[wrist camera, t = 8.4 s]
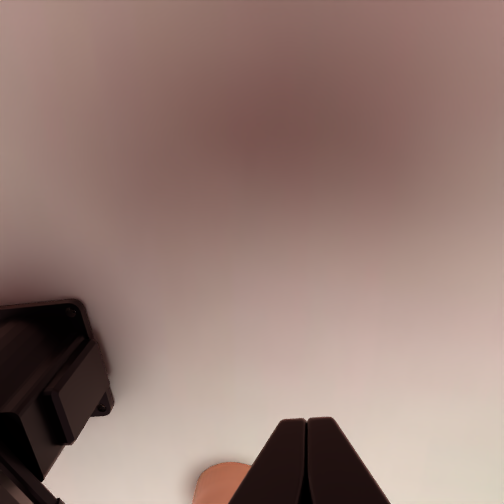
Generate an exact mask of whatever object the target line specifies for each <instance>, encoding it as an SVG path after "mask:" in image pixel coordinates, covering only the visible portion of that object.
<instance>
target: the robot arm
mask: <svg viewBox="0 0 504 504" xmlns="http://www.w3.org/2000/svg"><path fill="white" fill-rule="evenodd" d="M69 308H73V309H74V310H75V311H76V313H73V312H71V311H70V309H69ZM109 385H110V382H109V379H108V375H107V372H106V369H105V366H104V362H103V359H102V356H101V353H100V349H99V346H98V343H97V342H96V341H95V340H94V337H93V334H92V331H91V328H90V324H89V321H88V318H87V315H86V311H85V308H84V306H83V304H82V303H81V302H80V301H78V300H76V299H68V300H58V301H48V302H38V303H28V304H18V305H8V306H0V504H65V503H64V502H63V501H62V500H61V499H60V498H57V499H56V498H55V497H54V496H53V495H52V493H51V492H50V491H49V490H48V489H47V488H46V487H45V486H44V485H43V484H42V483H41V482H42V481H43V480H44V479H45V477H46V475H47V474H48V472H49V471H50V469H51V467H52V466H53V464H54V463H55V461H56V459H57V458H58V456H59V455H60V453H61V451H62V450H63V448H64V447H65V445H72V444H73V443H74V442H75V440H76V439H77V437H78V436H79V434H80V433H81V431H82V429H83V428H84V426H85V424H86V423H87V421H88V419H89V418H90V417H95V416H106V415H108V414H109V413H110V412H111V410H112V408H113V406H114V402H113V399H112V395H111V392H110V389H109ZM101 404H103V405H105V407H103V406H102V405H101ZM228 504H391V503H390V502H389V500H388V499H387V497H386V496H385V494H384V493H383V491H382V490H381V488H380V487H379V485H378V484H377V482H376V481H375V479H374V478H373V476H372V475H371V473H370V472H369V470H368V469H367V467H366V466H365V464H364V463H363V461H362V460H361V458H360V457H359V455H358V454H357V452H356V451H355V449H354V448H353V446H352V445H351V443H350V442H349V440H348V439H347V437H346V436H345V434H344V433H343V431H342V430H341V428H340V427H339V425H338V424H337V422H336V421H335V420H334V419H333V418H332V417H314V418H309V419H308V421H306V420H305V419H304V418H296V419H283V420H281V421H280V422H279V424H278V425H277V427H276V428H275V430H274V431H273V433H272V435H271V436H270V438H269V439H268V441H267V442H266V444H265V446H264V447H263V449H262V450H261V452H260V453H259V455H258V457H257V458H256V460H255V461H254V463H253V465H252V466H251V468H250V469H249V471H248V472H247V474H246V476H245V477H244V479H243V480H242V482H241V483H240V485H239V487H238V488H237V490H236V491H235V493H234V494H233V496H232V498H231V499H230V501H229V502H228Z"/></svg>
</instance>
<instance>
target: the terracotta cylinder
mask: <svg viewBox="0 0 504 504" xmlns="http://www.w3.org/2000/svg"><path fill="white" fill-rule="evenodd" d="M250 468H251V466H249V465H246V464H242V463H236V462H226V463H220V464H216V465H214V466H212V467H210V468H208V469H207V470H205V471H204V472H203V473H202V474H201V476H200V477H199V479H198V481H197V485H196V489H195V493H194V497H193V501H192V504H228V502H229V501H230V499H231V498H232V496H233V494H234V493H235V491H236V490H237V488H238V487H239V485H240V483H241V482H242V480H243V479H244V477H245V476H246V474H247V472H248V471H249V469H250Z"/></svg>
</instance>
